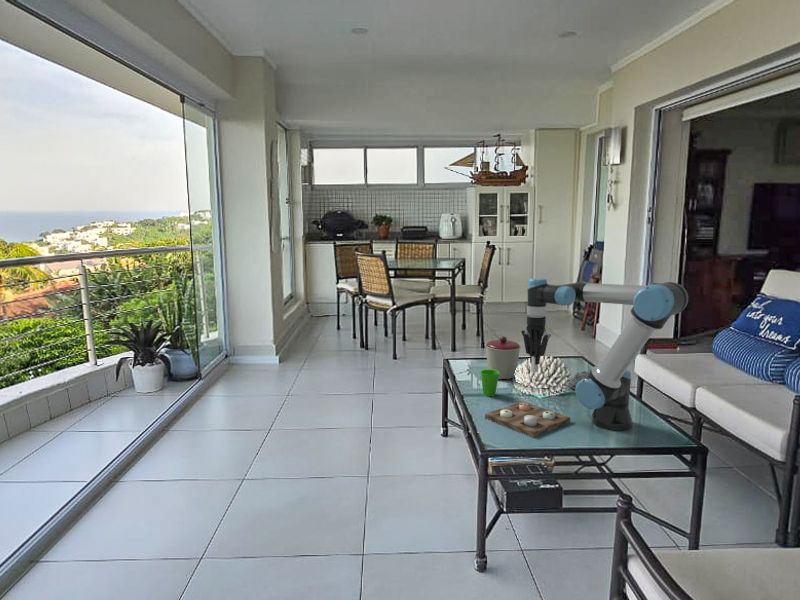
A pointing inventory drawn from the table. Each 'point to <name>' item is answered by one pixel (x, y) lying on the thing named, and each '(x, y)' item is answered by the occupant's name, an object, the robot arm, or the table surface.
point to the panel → (518, 419)
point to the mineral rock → (577, 379)
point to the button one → (506, 413)
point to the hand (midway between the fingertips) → (534, 371)
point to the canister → (503, 356)
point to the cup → (489, 381)
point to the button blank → (530, 421)
